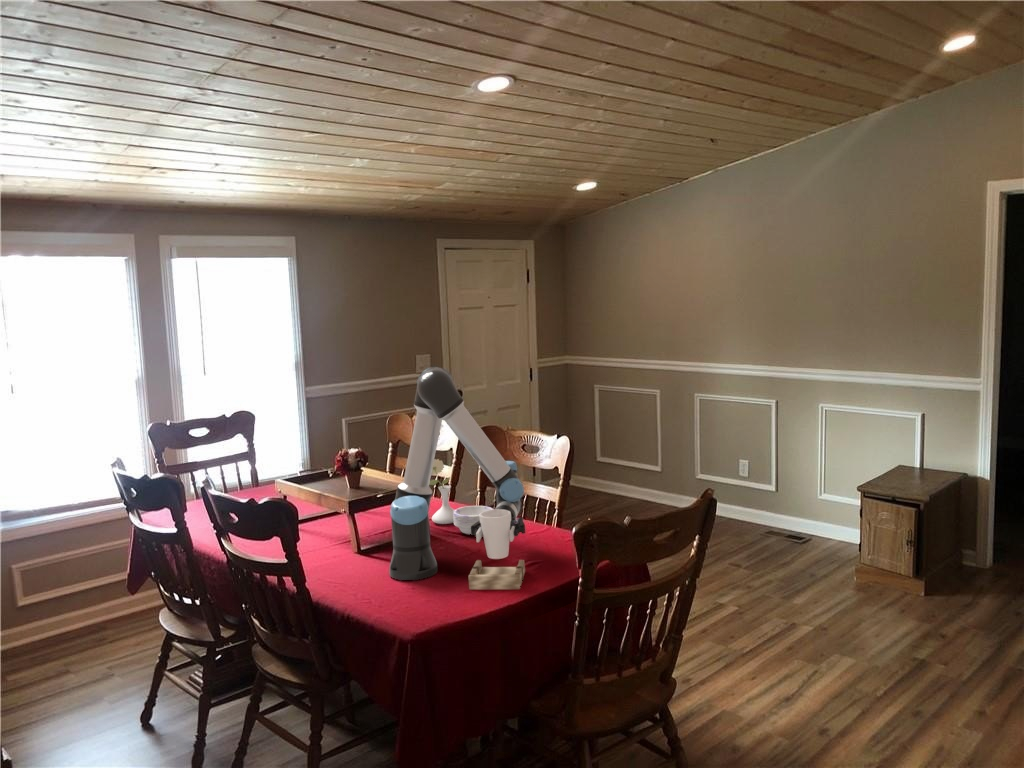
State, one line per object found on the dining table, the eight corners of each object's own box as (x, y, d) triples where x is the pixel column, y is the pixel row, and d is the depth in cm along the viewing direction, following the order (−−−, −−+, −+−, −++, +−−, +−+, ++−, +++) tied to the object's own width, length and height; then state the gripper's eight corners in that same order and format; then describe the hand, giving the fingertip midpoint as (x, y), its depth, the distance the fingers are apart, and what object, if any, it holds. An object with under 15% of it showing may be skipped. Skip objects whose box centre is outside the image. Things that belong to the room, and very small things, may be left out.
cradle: (468, 589, 236) (467, 576, 235) (477, 571, 250) (476, 559, 250) (520, 589, 234) (519, 576, 233) (526, 571, 248) (525, 559, 248)
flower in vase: (461, 517, 314) (457, 454, 311) (461, 525, 303) (457, 460, 300) (428, 519, 313) (424, 456, 310) (427, 527, 302) (422, 462, 299)
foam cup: (509, 560, 236) (506, 518, 234) (479, 560, 237) (476, 518, 236) (515, 550, 245) (513, 509, 243) (486, 550, 247) (483, 509, 245)
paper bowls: (504, 530, 294) (502, 509, 293) (472, 540, 284) (470, 518, 283) (477, 522, 305) (476, 502, 304) (446, 532, 295) (444, 511, 294)
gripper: (539, 526, 257) (532, 548, 235) (471, 528, 260) (458, 550, 238) (537, 503, 256) (530, 524, 234) (470, 505, 259) (456, 526, 237)
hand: (494, 537), depth 236 cm, fingers closed on foam cup, 9 cm apart
